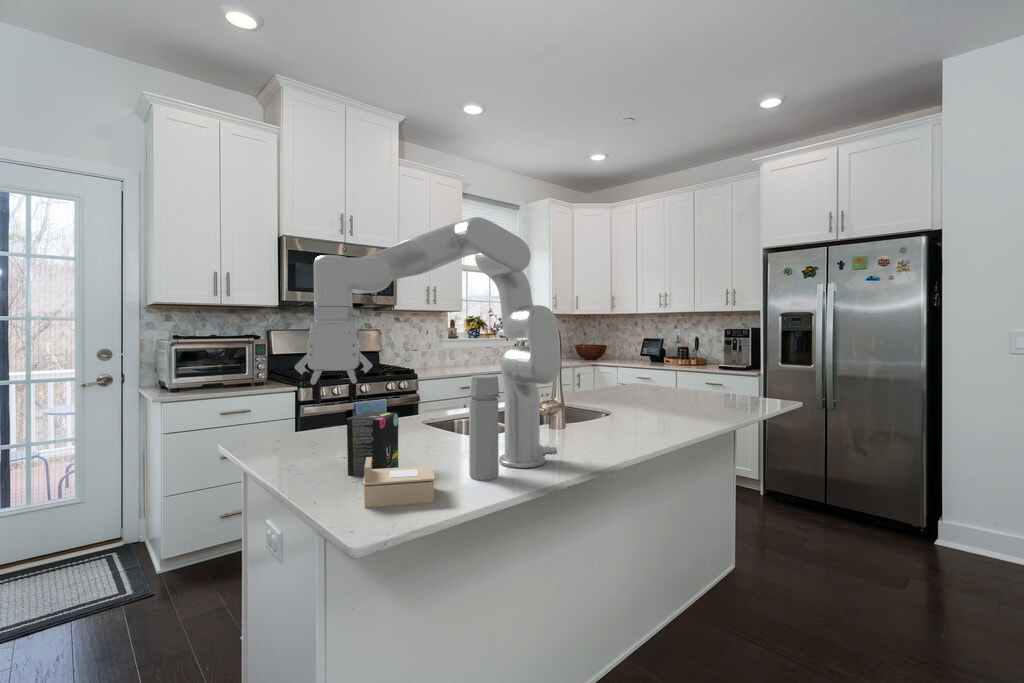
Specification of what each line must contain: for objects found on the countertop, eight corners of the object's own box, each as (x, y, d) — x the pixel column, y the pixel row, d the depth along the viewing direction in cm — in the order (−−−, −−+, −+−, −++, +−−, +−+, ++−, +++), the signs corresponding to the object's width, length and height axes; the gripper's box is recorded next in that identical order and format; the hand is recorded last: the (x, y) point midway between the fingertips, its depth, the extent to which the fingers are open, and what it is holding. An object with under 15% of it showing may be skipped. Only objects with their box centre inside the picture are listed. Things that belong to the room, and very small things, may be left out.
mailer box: (430, 488, 117) (430, 468, 117) (433, 503, 108) (433, 481, 107) (366, 493, 114) (366, 472, 114) (364, 509, 104) (364, 486, 104)
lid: (431, 467, 117) (431, 452, 117) (435, 480, 107) (435, 464, 107) (365, 471, 114) (365, 456, 114) (362, 485, 104) (362, 468, 104)
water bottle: (489, 484, 120) (489, 378, 119) (462, 479, 124) (461, 376, 123) (509, 474, 128) (509, 375, 127) (482, 470, 132) (482, 373, 131)
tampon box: (381, 479, 125) (380, 419, 124) (346, 477, 126) (345, 418, 126) (399, 467, 135) (399, 411, 135) (367, 465, 137) (366, 410, 137)
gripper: (377, 316, 112) (377, 398, 113) (292, 316, 108) (293, 401, 109) (376, 315, 105) (376, 403, 105) (285, 315, 101) (286, 406, 101)
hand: (334, 401), depth 107 cm, fingers open, 5 cm apart
